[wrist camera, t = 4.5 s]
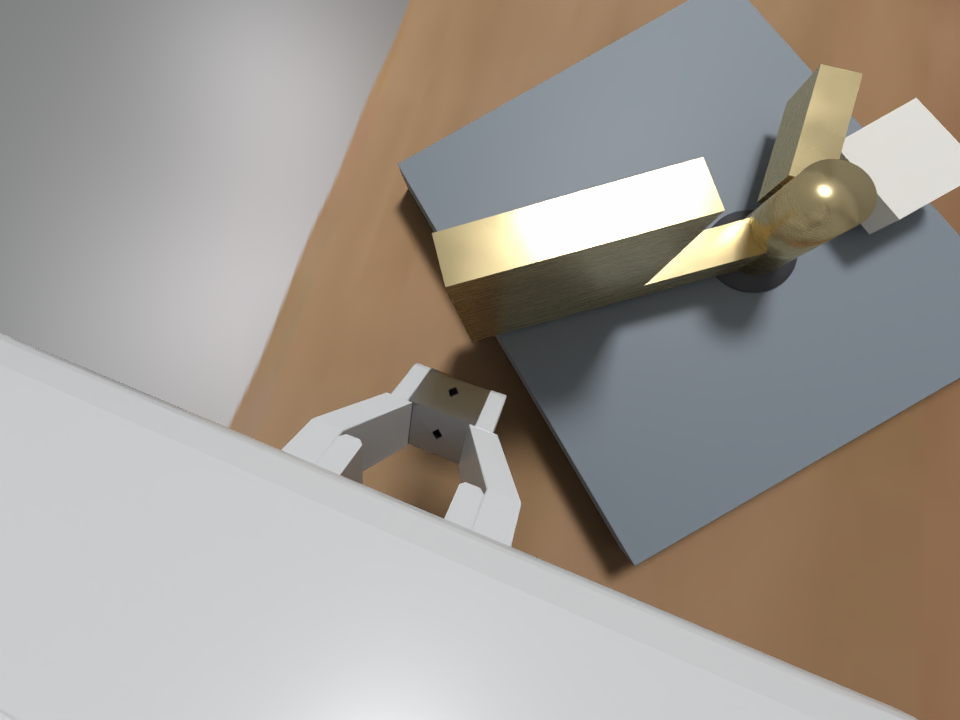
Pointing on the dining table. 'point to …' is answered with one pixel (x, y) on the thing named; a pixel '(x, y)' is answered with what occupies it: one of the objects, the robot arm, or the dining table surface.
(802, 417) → the lock plate
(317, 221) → the dining table surface
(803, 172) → the key
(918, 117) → the cover
